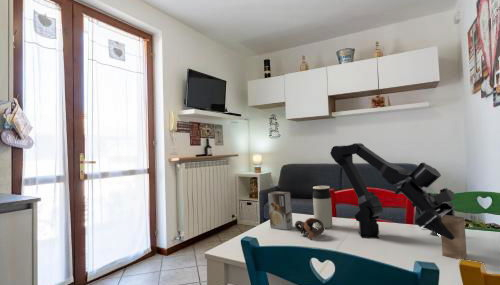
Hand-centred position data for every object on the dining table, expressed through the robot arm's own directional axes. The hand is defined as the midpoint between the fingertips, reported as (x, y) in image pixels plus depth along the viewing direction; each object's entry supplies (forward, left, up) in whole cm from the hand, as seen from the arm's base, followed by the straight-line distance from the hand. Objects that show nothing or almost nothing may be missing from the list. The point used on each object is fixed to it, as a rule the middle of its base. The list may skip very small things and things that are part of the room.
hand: (458, 235), depth 87 cm
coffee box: (-59, +30, -7) cm, 66 cm away
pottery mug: (-46, +18, -7) cm, 50 cm away
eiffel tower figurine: (+4, +22, -7) cm, 24 cm away
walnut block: (-1, +1, -7) cm, 7 cm away
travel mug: (-40, +32, -7) cm, 52 cm away
